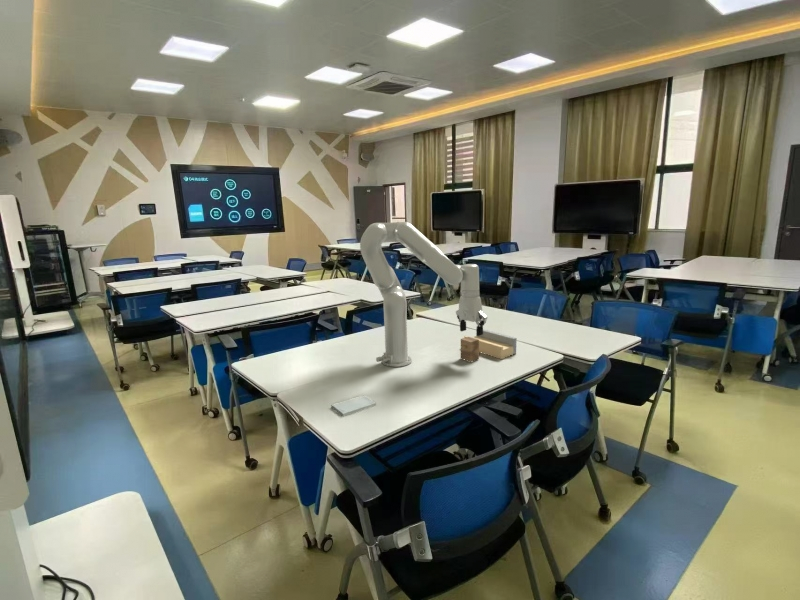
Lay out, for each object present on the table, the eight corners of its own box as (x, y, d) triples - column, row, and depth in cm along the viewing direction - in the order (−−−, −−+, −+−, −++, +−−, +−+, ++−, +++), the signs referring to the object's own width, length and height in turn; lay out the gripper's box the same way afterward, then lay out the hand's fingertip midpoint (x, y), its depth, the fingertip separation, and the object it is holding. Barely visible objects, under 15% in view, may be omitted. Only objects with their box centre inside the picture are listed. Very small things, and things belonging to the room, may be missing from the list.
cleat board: (500, 359, 175) (501, 342, 173) (464, 347, 192) (464, 332, 191) (516, 354, 181) (516, 337, 179) (479, 343, 198) (479, 328, 197)
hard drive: (342, 413, 128) (375, 402, 135) (330, 404, 134) (363, 394, 142) (343, 418, 128) (376, 406, 135) (331, 409, 135) (363, 398, 142)
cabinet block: (469, 362, 172) (469, 342, 170) (459, 359, 177) (458, 339, 175) (478, 359, 175) (479, 339, 174) (468, 356, 180) (468, 336, 178)
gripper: (449, 292, 175) (451, 331, 179) (479, 297, 162) (480, 338, 165) (462, 290, 180) (463, 327, 183) (492, 294, 166) (492, 334, 169)
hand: (471, 332), depth 174 cm, fingers open, 9 cm apart
